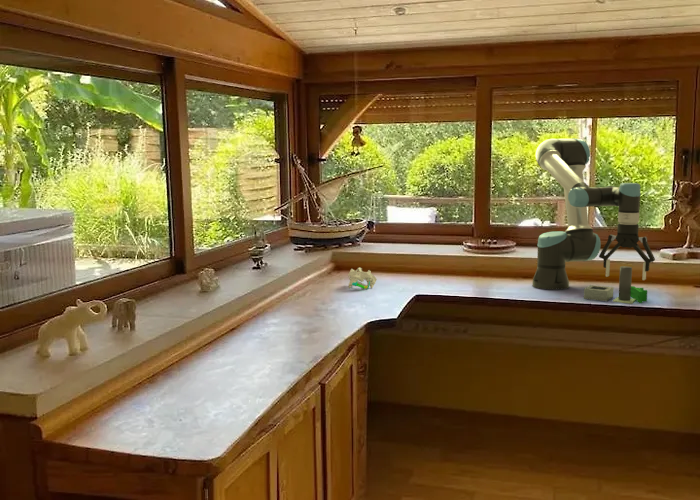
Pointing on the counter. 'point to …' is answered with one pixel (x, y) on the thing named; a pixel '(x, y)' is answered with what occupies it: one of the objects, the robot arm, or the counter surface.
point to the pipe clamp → (638, 294)
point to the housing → (598, 293)
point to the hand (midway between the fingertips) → (625, 277)
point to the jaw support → (361, 278)
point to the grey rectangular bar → (625, 283)
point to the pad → (624, 301)
